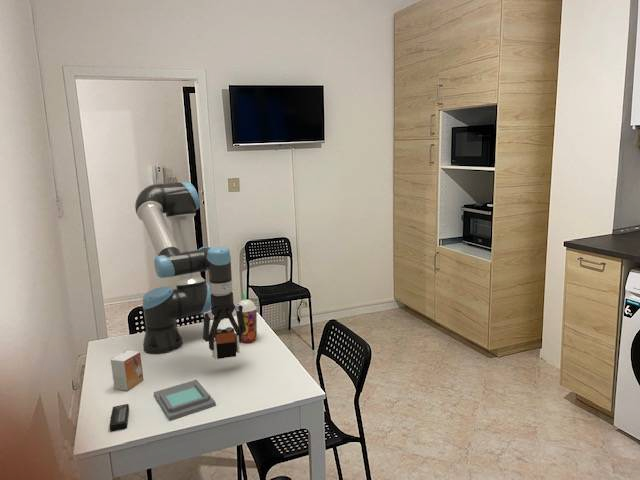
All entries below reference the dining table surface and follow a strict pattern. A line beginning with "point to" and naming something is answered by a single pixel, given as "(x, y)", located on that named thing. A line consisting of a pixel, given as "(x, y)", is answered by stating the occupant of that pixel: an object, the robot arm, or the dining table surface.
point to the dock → (183, 399)
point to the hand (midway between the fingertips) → (226, 354)
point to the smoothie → (249, 320)
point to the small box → (127, 370)
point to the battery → (225, 343)
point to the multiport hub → (119, 417)
